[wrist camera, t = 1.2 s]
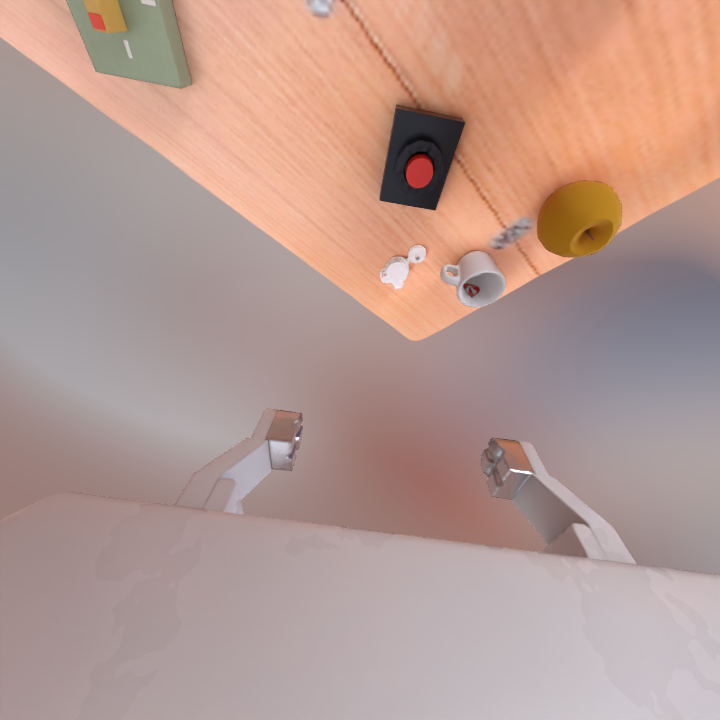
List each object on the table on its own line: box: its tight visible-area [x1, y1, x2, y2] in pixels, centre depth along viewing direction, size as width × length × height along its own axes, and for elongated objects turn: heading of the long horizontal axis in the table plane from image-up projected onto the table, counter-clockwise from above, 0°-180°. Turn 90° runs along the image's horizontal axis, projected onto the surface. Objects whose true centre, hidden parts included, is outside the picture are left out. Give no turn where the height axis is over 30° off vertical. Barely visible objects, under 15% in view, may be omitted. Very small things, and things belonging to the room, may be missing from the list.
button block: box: [380, 105, 465, 210], centre depth 40 cm, size 11×9×4 cm
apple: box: [537, 181, 622, 257], centre depth 41 cm, size 10×10×12 cm
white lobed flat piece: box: [380, 245, 426, 289], centre depth 54 cm, size 9×9×2 cm
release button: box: [406, 154, 433, 188], centre depth 39 cm, size 4×4×2 cm
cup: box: [440, 251, 506, 307], centre depth 51 cm, size 11×8×8 cm
